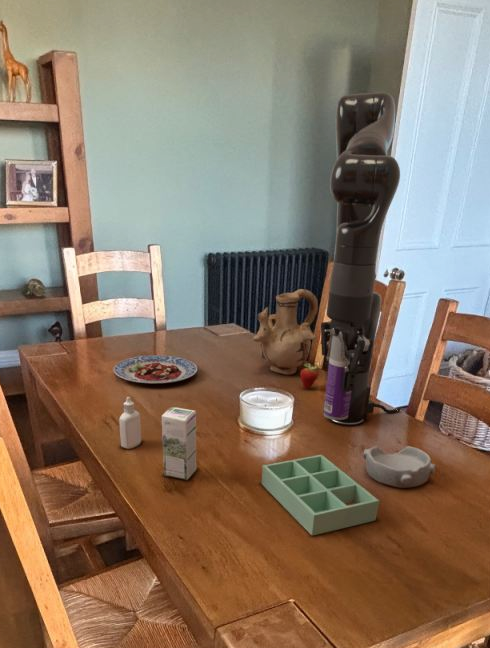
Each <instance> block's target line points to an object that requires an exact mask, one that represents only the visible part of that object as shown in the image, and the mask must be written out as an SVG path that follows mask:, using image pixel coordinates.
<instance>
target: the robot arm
mask: <svg viewBox="0 0 490 648" xmlns="http://www.w3.org/2000/svg"><path fill="white" fill-rule="evenodd" d="M395 125H396V105H395V100H394V98H393V96H392V95H391V93H388V92H384V91H375V92H363V93H351V94H345V95H343V96H341V97H340V98H339V99H338V101H337V105H336V110H335V148H336V160H335V162H334V165H333V167H332V170H331V174H330V179H329V190H330V193H331V195H332V197H333V199H334V200H335V201H336V202H337V205H336V206H337V207H336V236H335V245H334V253H333V254H334V255H333V263H332V267H331V272H330V278H329V287H328V297H327V307H326V317H327V318H328V319H329V320H330V321H322V322H321V323H320V337H321V338H320V341H321V355H322V356H325V359H326V362H327V370H326V378H327V377H328V368H329V360H330V353H331V345H332V338H333V336H336V335H338V336H339V339H340V342H341V358H342V359H343V360H344V372H343V380H342V388H341V389H342V391H344V392H349V391H351V399H350V406H349V413H348V418H346V419H344V420H333V419H329V418H328V420H329V421H330V422H332V423H334V424H336V425H341V426H350V427H351V426H358V425H361V424H363V422H366V421H367V416H368V414H373V413H374V410H375V408H379V409H381V410H382V411H383V412H385V413H387V414H392V413H393V414H394V413H398V412H400V411H401V408H399V407H397V408H393V409H388V408H387V407H386V406H384V405H382V404H379V403H376V402H375V401H373V400H371V399H370V398H371V390H372V387H371V385H369V382H370V376H371V375H370V374H371V368H372V362H373V356H374V355H373V354H374V348H375V342H376V335H377V329H378V326H379V325H378V324H379V320H380V317H381V316H380V315H381V311H382V310H381V309H382V296H381V294H380V293H378V292H375V291H374V290H375V286H376V285H375V283H376V277H377V275H376V273H377V271H376V269H377V268H376V267H377V258H378V252H379V245H380V238H381V234H382V229H383V226H384V223H385V220H386V217H387V215H388V212H389V209H390V207H391V204H392V203H393V200H394V198H395V195H396V193H397V190H398V187H399V184H400V181H401V180H400V179H401V168H400V165H399V163H398V161H397V160H396V158H395V157H393V156H392V155H388V150H389V148H390V146H391V143H392V140H393V138H394V133H395ZM347 350H348V351H349V350H355V352H354V353H350V354H348V353H347ZM350 358H353V359H352V362H351V365H350ZM396 409H397V410H398V411H397V410H396Z"/></svg>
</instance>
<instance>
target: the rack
mask: <svg viewBox="0 0 490 648" xmlns="http://www.w3.org/2000/svg"><path fill="white" fill-rule="evenodd" d="M261 469H262V470H261V485H262V486H263V487H264V488H265V490H266V491H268V492H269V494H270V495H272V497H274V499H276V501H277V502H278V503H280V505H281V506H282V507H283V508H284V509H285V510H286V511H287V512H288V513H289V514H290V515H291V516H292V517H293V518H294V520H296V521H297V522H298V523H299V524H300V525H301V526H302V527H303V528H304V529H305V530H306V532H308V533H309V535H311V536H317V535H321V534H324V533H329V532H333V531H337V530H341V529H345V528H350V527H353V526H357V525H362V524H363V525H364V524H366V523H370V522H371V523H372V522H374V521H376V520H377V516H378V509H379V503H380V500H379V499H378V498H376V497H375V496H374V495H373V494H372V493H371V492H369V491H368V490H366V489H365V488H364V487H363V486H361V485H360V484H359V483H358V482H357V481H355V480H354V479H353V478H352V477H351V476H349V475H348V474H347V473H345V472H344V471H343V470H342V469H340V468H339V467H337V466H336V465H335V464H334V462H331V461H330V460H329V459H328V458H327V457H325V456H324V455H323V454H318V455H311V456H307V457H301V458H296V459H291V460H284V461H279V462H274V463H268V464H263V465H262V468H261Z"/></svg>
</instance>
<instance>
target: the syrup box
mask: <svg viewBox="0 0 490 648" xmlns="http://www.w3.org/2000/svg"><path fill="white" fill-rule="evenodd" d="M161 432H162V433H161V434H162V435H161V436H162V457H163V459H162V460H163V475H164V477H168V478H176V479H180V480H184V481H188V480H189V479H190V478H191V477H192V475H193V474H194V473H195V472H196V471H197V467H198V466H197V412H196V410H194V409H187V408H181V407H175V406H171V407H170V408H168V409H167V410H165V412H164V413H163V414H162V415H161Z"/></svg>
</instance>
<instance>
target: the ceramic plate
mask: <svg viewBox="0 0 490 648" xmlns="http://www.w3.org/2000/svg"><path fill="white" fill-rule="evenodd" d="M197 372H198V366H197V365H196V364H195V363H194V362H192V361H191V360H188V359H187V358H182V357H178V356H172V355H171V356H170V355H160V354H159V355H157V354H155V355H141V356H135V357H130V358H127V359H124V360H121V361H119V362H118V363H116V364H115V365H114V366H113V373H114V374H115V375H116V377H119V378H120V379H123V380H125V381H129V382H134V383H140V384H150V385H159V384H160V385H161V384H169V383H175V382H180V381H181V382H182V381H184V380H187V379H189V378H191V377H193V376H195V374H197Z"/></svg>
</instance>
